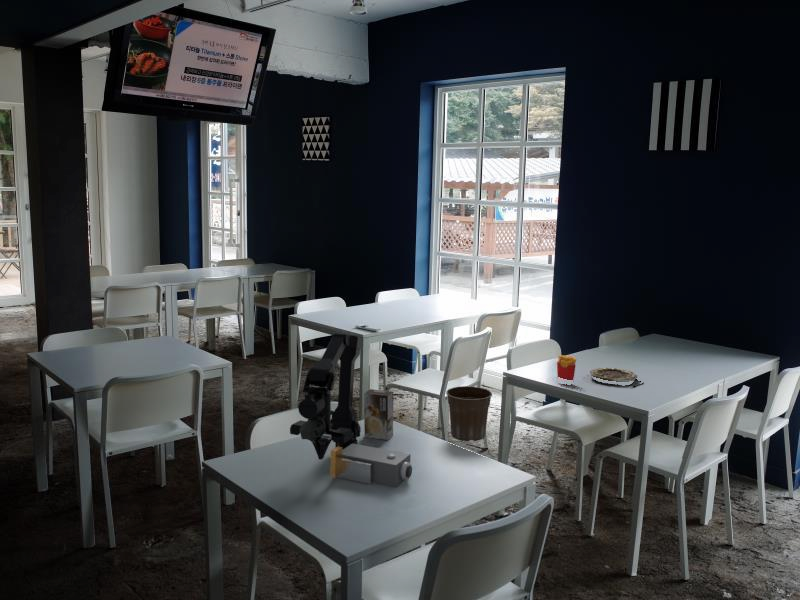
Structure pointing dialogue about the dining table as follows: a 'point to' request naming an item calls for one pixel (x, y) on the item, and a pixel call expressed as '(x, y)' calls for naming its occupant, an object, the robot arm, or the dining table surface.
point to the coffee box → (378, 414)
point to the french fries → (566, 367)
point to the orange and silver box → (349, 468)
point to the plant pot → (468, 412)
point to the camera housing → (382, 463)
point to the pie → (613, 374)
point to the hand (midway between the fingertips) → (320, 459)
